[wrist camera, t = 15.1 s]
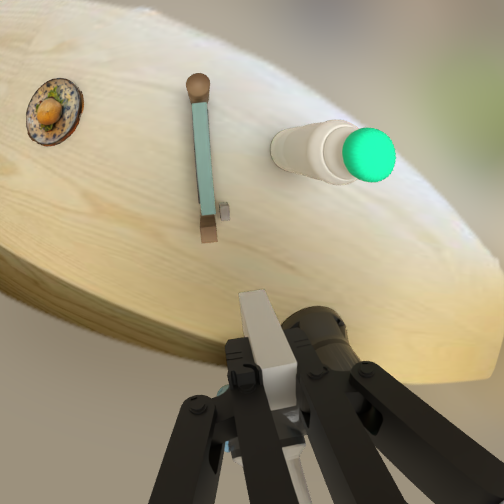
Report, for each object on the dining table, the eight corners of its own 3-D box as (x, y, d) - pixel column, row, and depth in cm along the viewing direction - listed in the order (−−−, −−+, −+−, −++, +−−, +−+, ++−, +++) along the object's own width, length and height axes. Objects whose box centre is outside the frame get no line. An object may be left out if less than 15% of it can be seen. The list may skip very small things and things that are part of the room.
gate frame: (226, 219, 46) (233, 240, 36) (199, 222, 46) (198, 243, 35) (218, 89, 39) (223, 71, 28) (190, 92, 38) (185, 74, 28)
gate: (194, 112, 38) (191, 103, 31) (206, 110, 38) (206, 102, 31) (202, 204, 43) (201, 215, 36) (213, 202, 43) (215, 213, 36)
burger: (59, 68, 32) (39, 58, 25) (97, 102, 36) (79, 95, 29) (20, 123, 33) (-3, 122, 27) (55, 159, 38) (33, 162, 31)
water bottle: (273, 174, 45) (345, 204, 22) (265, 132, 42) (334, 115, 19) (314, 167, 45) (411, 191, 22) (307, 126, 43) (404, 113, 20)
